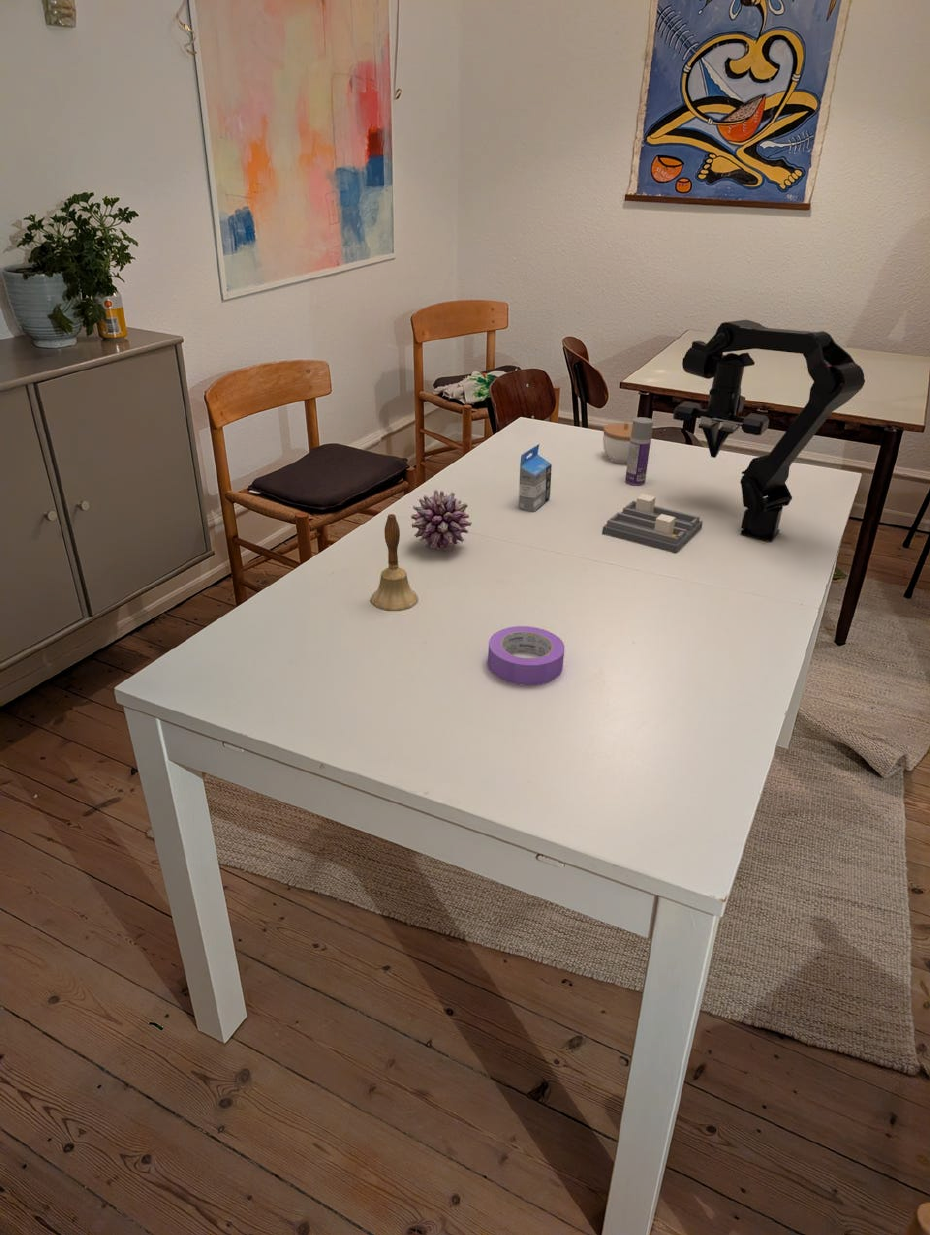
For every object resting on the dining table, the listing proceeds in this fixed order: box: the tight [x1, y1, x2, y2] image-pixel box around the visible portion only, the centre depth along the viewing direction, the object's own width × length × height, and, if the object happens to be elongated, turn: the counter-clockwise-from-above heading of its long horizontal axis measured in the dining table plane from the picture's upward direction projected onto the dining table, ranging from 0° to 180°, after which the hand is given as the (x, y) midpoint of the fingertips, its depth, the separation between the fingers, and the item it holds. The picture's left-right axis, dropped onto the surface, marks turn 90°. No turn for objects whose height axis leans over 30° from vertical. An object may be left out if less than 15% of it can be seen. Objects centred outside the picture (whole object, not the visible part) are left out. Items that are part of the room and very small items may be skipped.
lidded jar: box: [602, 422, 633, 465], centre depth 217 cm, size 11×11×9 cm
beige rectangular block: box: [635, 493, 657, 514], centre depth 185 cm, size 3×3×4 cm
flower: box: [410, 489, 473, 552], centre depth 169 cm, size 12×12×12 cm
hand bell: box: [370, 513, 419, 612], centre depth 149 cm, size 8×8×16 cm
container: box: [624, 416, 654, 487], centre depth 202 cm, size 5×5×15 cm
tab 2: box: [654, 514, 676, 535], centre depth 176 cm, size 3×3×4 cm
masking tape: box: [487, 625, 565, 686], centre depth 135 cm, size 12×12×4 cm
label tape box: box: [518, 443, 553, 512], centre depth 190 cm, size 9×4×12 cm, turn 151°
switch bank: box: [601, 500, 703, 554], centre depth 181 cm, size 16×15×3 cm
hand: (713, 457), depth 187 cm, fingers closed
